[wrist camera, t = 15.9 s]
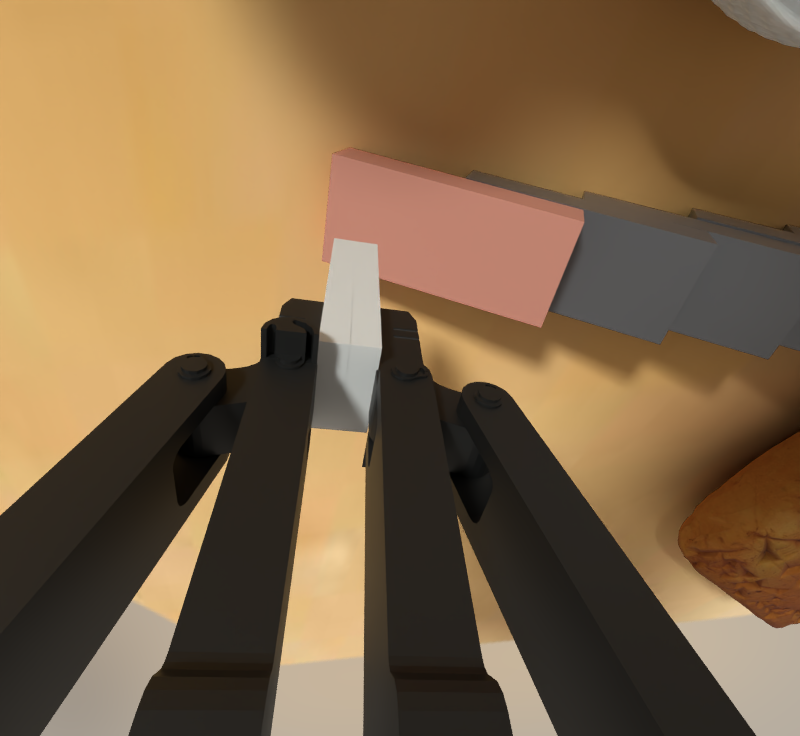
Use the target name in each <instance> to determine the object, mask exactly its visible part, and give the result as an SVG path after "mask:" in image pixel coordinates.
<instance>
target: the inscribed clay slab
mask: <svg viewBox="0 0 800 736" xmlns="http://www.w3.org/2000/svg"><path fill="white" fill-rule="evenodd" d="M678 544H679V547H680V549H681V551H682V553H683V555H684V557H685V558H687V559H688V560H689V561H690V563H691V564H692V566H693V567H694V569H695V570H697V571H698V572H699V573H700V574H701V575H703V576H704V577H705V578H707V579H708V580H709V581H711V582H712V583H714V584H716V585H717V586H718V587H719V588H721V589H722V590H723V591H724V592H726V593H727V594H728V595H730V596H731V597H732V598H733V599H735V600H736V601H738V602H739V603H741V604H742V605H743V606H745V607H746V608H747V609H748V610H750V611H751V612H752V613H753V614H754V615H756V616H757V617H758V618H760V619H762V620H764V621H765V622H766V623H767V624H769V625H771V626H772V627H775V628H783V627H785V626H787V625H790V624H798V623H800V431H799V432H797V433H796V434H794V435H792V436H791V437H789V438H788V439H786V440H784V441H783V442H781V443H779V444H778V445H776V446H774V447H772V448H771V449H769V450H768V451H766V452H765V453H764V454H762V455H761V456H759V457H758V458H756V459H755V460H753V461H752V462H751V463H749V464H748V465H747V466H746V467H744V468H743V469H742V470H740V471H739V472H738V473H737V474H735V475H734V476H733V477H731V478H730V479H729V480H728V481H727V482H725V483H724V484H723V485H722V486H721V487H720V488H718V489H717V490H715V491H714V492H712V493H711V494H709V495H708V496H707V497H706V498H705V499H704V500H703V501H702V502H701V503H700V504H699V505H697V506H696V508H695V510H694V512H693V514H692V515H691V516H689V517H688V518H687V519H686V520H685V521H684V523H683V524H682V526H681V528H680V530H679V536H678Z"/></svg>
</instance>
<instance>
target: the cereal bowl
mask: <svg viewBox="0 0 800 736" xmlns="http://www.w3.org/2000/svg"><path fill="white" fill-rule="evenodd" d="M712 1H713V3H714V4H715V5H717V6H718V7H720V9H721V10H722V11H723V12H724V13H725V14H726V16H728V17H730V18H732V19H733V20H735V21H737V22H738V23H739V24H740V25H741V26H742V27H745V28H746V29H747V30H749V31H752V32H756V33H757V34H758V35H760V36H763V37H764V38H766V39H770V40H773V41H777V42H779V43H781V44H783V45H787V46H792V47H797V48H800V0H712Z"/></svg>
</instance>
